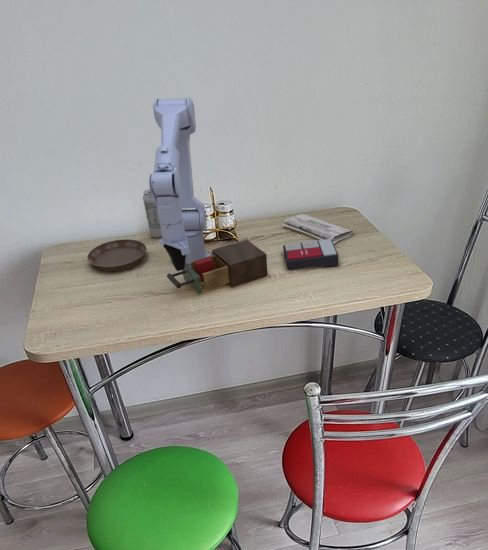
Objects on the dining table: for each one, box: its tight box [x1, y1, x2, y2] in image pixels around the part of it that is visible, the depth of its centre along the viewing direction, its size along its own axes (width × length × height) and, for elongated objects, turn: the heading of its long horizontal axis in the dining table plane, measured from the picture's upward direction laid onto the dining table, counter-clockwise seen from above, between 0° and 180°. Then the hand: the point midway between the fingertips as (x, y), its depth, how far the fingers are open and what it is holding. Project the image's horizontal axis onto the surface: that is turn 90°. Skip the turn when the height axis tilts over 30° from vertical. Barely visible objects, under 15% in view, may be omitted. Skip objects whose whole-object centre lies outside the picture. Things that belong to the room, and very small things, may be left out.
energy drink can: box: [142, 188, 162, 239], centre depth 159 cm, size 6×6×15 cm
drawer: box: [166, 254, 231, 295], centre depth 133 cm, size 16×10×5 cm, turn 121°
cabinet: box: [211, 239, 268, 288], centre depth 138 cm, size 11×11×7 cm
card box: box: [194, 257, 214, 282], centre depth 133 cm, size 5×2×6 cm, turn 121°
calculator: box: [282, 239, 339, 271], centre depth 144 cm, size 11×4×15 cm
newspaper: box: [281, 213, 354, 245], centre depth 161 cm, size 23×12×2 cm, turn 43°
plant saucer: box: [86, 238, 148, 272], centre depth 149 cm, size 18×18×3 cm
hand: (180, 269), depth 129 cm, fingers closed
